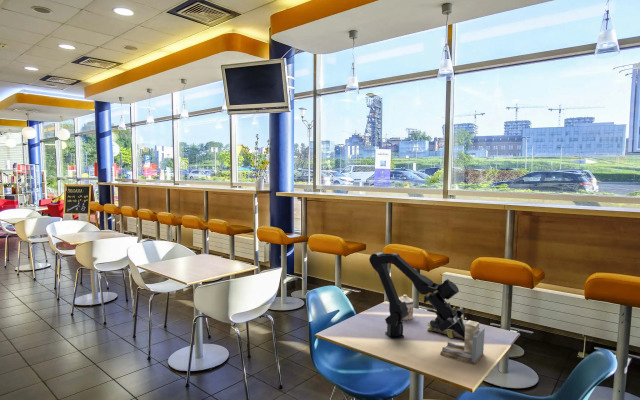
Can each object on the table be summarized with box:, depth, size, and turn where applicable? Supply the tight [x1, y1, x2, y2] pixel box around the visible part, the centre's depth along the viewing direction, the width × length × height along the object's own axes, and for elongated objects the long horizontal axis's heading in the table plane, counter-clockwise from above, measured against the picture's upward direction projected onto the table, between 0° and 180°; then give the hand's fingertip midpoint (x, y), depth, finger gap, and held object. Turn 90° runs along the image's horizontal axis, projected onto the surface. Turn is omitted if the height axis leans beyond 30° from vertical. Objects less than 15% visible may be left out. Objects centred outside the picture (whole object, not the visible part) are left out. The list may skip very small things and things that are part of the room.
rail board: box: [439, 341, 484, 365], centre depth 164 cm, size 14×12×2 cm
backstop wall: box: [472, 327, 485, 362], centre depth 160 cm, size 2×12×10 cm, turn 144°
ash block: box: [463, 319, 480, 355], centre depth 162 cm, size 4×5×13 cm
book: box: [426, 322, 481, 340], centre depth 189 cm, size 16×25×5 cm, turn 52°
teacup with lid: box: [398, 294, 414, 321], centre depth 207 cm, size 12×9×12 cm
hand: (465, 337), depth 163 cm, fingers closed, pressing on ash block
